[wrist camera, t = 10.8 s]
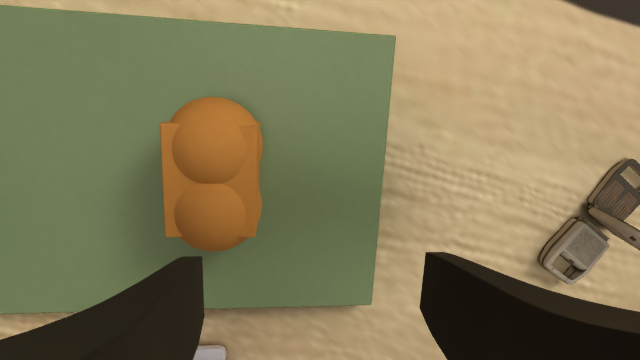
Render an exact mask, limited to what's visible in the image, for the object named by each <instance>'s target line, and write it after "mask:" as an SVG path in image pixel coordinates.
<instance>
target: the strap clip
mask: <svg viewBox="0 0 640 360" xmlns="http://www.w3.org/2000/svg"><path fill="white" fill-rule="evenodd" d="M628 166H630V167H631V168H632V169H633V170H634V171H635V172H636V173H637V174H638V175H639V176H640V164H639V163H638V162H637V161H636V160H634V159H626V160H624V161H622V162H621V163H619V164H618V165H617V166H615V167H614V168H613V169H611V170H610V171H609V173H608V174H607V175H606V176H605V178H604V179H603V180H602V182H601V183H600V184H599V185H598V187H597V188H596V189H595V191H594V192H593V193H592V195H591V196H590V197H589V199H588V202H589V203H590V205H589V206H588V208H589V210H588V211H589V213H590V214H591V215H592V216H593V217H594V218H595V219H596V220H598V221H599V222H600V223H601V224H602V225H603V226H604V227H606V228H607V229H608V230H609V231H610V232H611V233H612V234H614V235H615V236H617V237H619V238H620V239H622V240H624V241H625V242H627V243H629V244H630V245H632V246H634V247H635V248H637V249H639V250H640V230H638V229H636V228H635V227H633V226H631V225H629V224H628V223H626V222H624V220H625V219H626V218H627V217H628V216H629V215H630V214H631V213H632V212H633V211H634V210H635V209H636V208H637V207H638V206H639V205H640V188H639V189H638V191H637V190H636V189H635V188H634V187H633V186H632V185H631V184H629V183H628V182H627V181H626V180H625V179H624V178H623V177H622V176H621V175H620V174H621V173H622V172H623V171H624V170H625V169H626V168H627V167H628ZM608 239H609V238H608V237H607V236H606V235H605V234H603V233H602V232H601V231H600V230H599V229H598V228H596V227H595V226H594V225H593V224H592V223H591V222H590V221H588V220H583V219H582V218H580V217H578V219H577V220H576V219H570V220H569V221H568V222H567V223H566V224H565V225H564V226H563V228H562V229H561V230H560V231H559V232H558V233H557V234H556V235H555V236H554V237H553V238H552V239H551V240H550V241H549V242H548V243H547V244H546V246H545V248H544V250H543V252H542V254H541V256H540V263H541V265H542V266H544V268H545V269H546V270H548V271H549V272H550V273H551V274H553V275H554V276H555V277H557V278H558V279H559V280H561V281H563V282H565V283H567V284H573V283H575V282H577V281H578V280H579V279H581V278H582V277H584V276H585V275H587V274H588V272H589V271H590V270H591V269H592V267H593V266H594V265H595V264H596V262H597V261H598V260H599V259H600V257H601V256H602V255H603V254H604V252H605V251H606V250H607V249H608V247H609V244H608V243H607V240H608ZM559 255H561V256H562V257H563V258H565V259H566V260H567V261H568V262H570V263H571V264H572V266H571V267H570V268H569V269H568V271H567V272H566V273H565V274H564V275H563V274H562V273H561V272H559V271H558V270H557V269H556V268H554V267H553V266H552V262H553V261H554V260H555V259H556V258H557V257H558V256H559Z"/></svg>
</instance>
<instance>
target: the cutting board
mask: <svg viewBox="0 0 640 360" xmlns="http://www.w3.org/2000/svg"><path fill="white" fill-rule="evenodd" d="M395 40H396V36H391V35H379V34H366V33H353V32H340V31H327V30H314V29H301V28H289V27H276V26H263V25H250V24H237V23H224V22H211V21H198V20H186V19H173V18H160V17H147V16H134V15H121V14H108V13H96V12H83V11H70V10H57V9H44V8H31V7H18V6H6V5H0V314H20V313H62V312H81V311H83V310H85V309H87V308H90V307H92V306H94V305H96V304H98V303H101V302H103V301H105V300H107V299H109V298H111V297H113V296H114V295H116V294H118V293H120V292H122V291H123V290H125V289H127V288H129V287H131V286H132V285H134V284H136V283H138V282H140V281H141V280H143V279H144V278H146V277H148V276H149V275H151V274H153V273H154V272H156V271H157V270H159V269H161V268H162V267H164V266H165V265H167V264H169V263H170V262H172V261H174V260H176V259H177V258H180V257H185V256H202V263H203V291H204V309H228V308H269V307H311V306H352V305H371V303H372V292H373V281H374V270H375V259H376V248H377V237H378V226H379V216H380V205H381V194H382V183H383V172H384V161H385V150H386V139H387V128H388V117H389V106H390V95H391V84H392V73H393V62H394V51H395ZM203 97H221V98H225V99H229V100H231V101H234V102H236V103H237V104H239V105H241V106H242V107H244V108H245V109H246V110H247V111H248V112H249V113H250V114H251V115H252V116H253V117H254V119H255V121H260V131H261V134H262V140H263V152H262V157H261V160H260V183H259V190H260V194H261V199H262V212H261V216H260V219H259V222H258V224H257V232H256V237H248V238H247V239H246V240H245V241H243V242H242V243H241V244H239V245H237V246H235V247H233V248H231V249H228V250H224V251H216V252H211V251H203V250H200V249H196V248H194V247H192V246H190V245H188V244H187V243H185V242H184V241H183V240H181V239H180V238H179V237H165V227H164V205H163V183H162V161H161V139H160V123H164V122H168V121H170V120H171V118H172V117H173V115H174V114H175V113H176V112H177V111H178V110H179V109H180V108H181V107H182V106H184V105H185V104H187V103H189V102H191V101H193V100H196V99H199V98H203Z"/></svg>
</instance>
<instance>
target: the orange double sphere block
mask: <svg viewBox="0 0 640 360" xmlns="http://www.w3.org/2000/svg"><path fill="white" fill-rule="evenodd" d="M160 139H161V161H162V183H163V205H164V227H165V237H179V238H180V239H181V240H183V241H184V242H185V243H187V244H188V245H190V246H192V247H194V248H196V249H200V250H203V251H211V252H216V251H224V250H228V249H231V248H233V247H235V246H237V245H239V244H241V243H242V242H243V241H245V240H246V239H247V238H248V237H256V232H257V224H258V222H259V219H260V216H261V212H262V199H261V194H260V190H259V183H260V160H261V157H262V152H263V140H262V134H261V131H260V121H255V119H254V117H253V116H252V115H251V114H250V113H249V112H248V111H247V110H246V109H245V108H244V107H242V106H241V105H239V104H237V103H236V102H234V101H231V100H229V99H225V98H221V97H203V98H199V99H196V100H193V101H191V102H189V103H187V104H185V105H184V106H182V107H181V108H180V109H179V110H178V111H177V112H176V113H175V114H174V115H173V117H172V118H171V120H170V121H168V122H164V123H160Z"/></svg>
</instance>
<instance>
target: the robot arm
mask: <svg viewBox="0 0 640 360" xmlns="http://www.w3.org/2000/svg"><path fill="white" fill-rule="evenodd" d="M420 310H421V312H422V314H423V317H424V319H425V321H426V324H427V326H428V328H429V330H430V332H431V334H432V336H433V337H434V339H435V341H436V342H437V344H438V345H439V347H440V349H441V350H442V352H443V353H444V355H445V356H446V358H447V360H640V312H637V311H632V310H626V309H621V308H616V307H612V306H607V305H603V304H598V303H594V302H589V301H585V300H581V299H577V298H574V297H570V296H567V295H563V294H560V293H556V292H553V291H549V290H546V289H543V288H540V287H537V286H534V285H531V284H528V283H526V282H523V281H520V280H517V279H515V278H512V277H509V276H507V275H504V274H502V273H499V272H497V271H494V270H492V269H489V268H487V267H484V266H482V265H479V264H477V263H474V262H472V261H469V260H467V259H464V258H461V257H459V256H456V255H453V254H449V253H445V252H426V256H425V265H424V274H423V283H422V292H421V301H420ZM203 320H204V291H203V263H202V256H185V257H180V258H177V259H176V260H174V261H172V262H170V263H169V264H167V265H165V266H164V267H162V268H161V269H159V270H157V271H156V272H154V273H153V274H151V275H149V276H148V277H146V278H144V279H143V280H141V281H140V282H138V283H136V284H134V285H132V286H131V287H129V288H127V289H125V290H123V291H122V292H120V293H118V294H116V295H114V296H113V297H111V298H109V299H107V300H105V301H103V302H101V303H98V304H96V305H94V306H92V307H90V308H87V309H85V310H83V311H81V312H78V313H76V314H74V315H71V316H69V317H66V318H63V319H60V320H58V321H55V322H52V323H50V324H47V325H44V326H41V327H39V328H36V329H33V330H30V331H27V332H24V333H21V334H18V335H15V336H11V337H8V338H5V339H1V340H0V360H226V349H225V348H224V347H223V346H221V345H206V346H198V344H199V339H200V335H201V330H202V325H203Z"/></svg>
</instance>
